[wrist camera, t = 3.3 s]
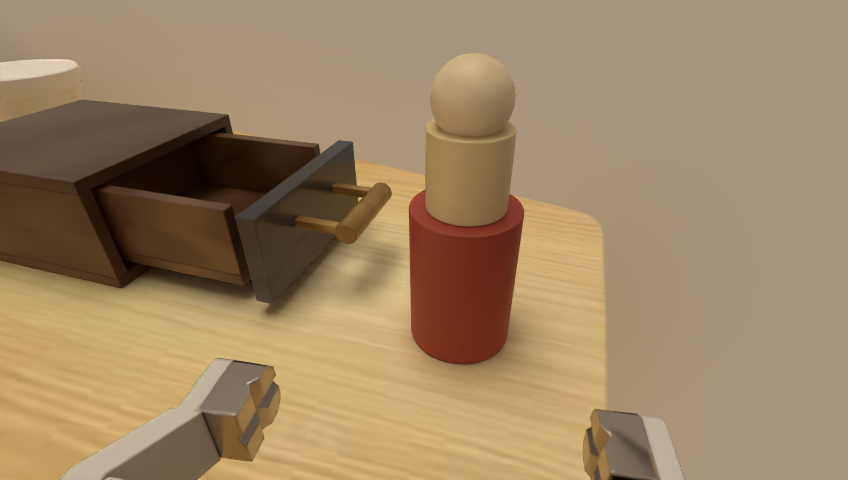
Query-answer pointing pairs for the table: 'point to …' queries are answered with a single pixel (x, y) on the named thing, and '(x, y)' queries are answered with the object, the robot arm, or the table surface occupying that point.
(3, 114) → the cup
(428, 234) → the doll
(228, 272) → the drawer
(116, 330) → the table surface
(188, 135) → the cabinet
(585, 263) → the table surface
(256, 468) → the table surface
